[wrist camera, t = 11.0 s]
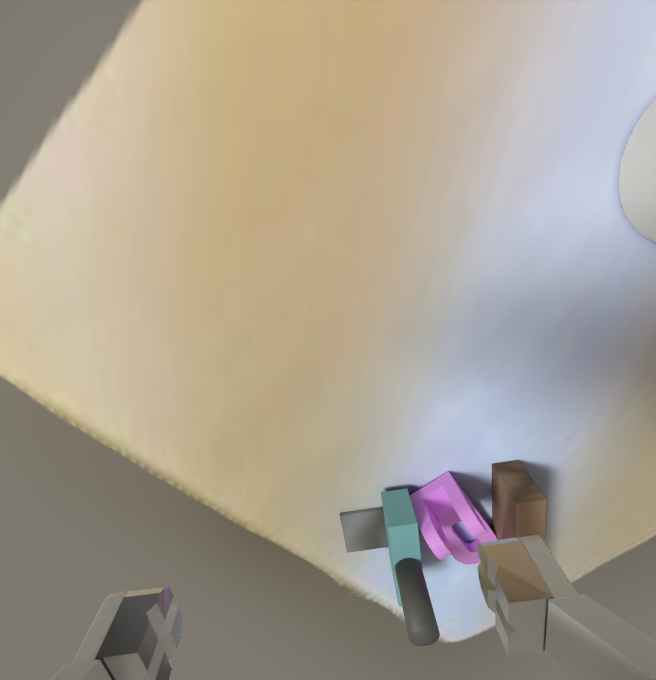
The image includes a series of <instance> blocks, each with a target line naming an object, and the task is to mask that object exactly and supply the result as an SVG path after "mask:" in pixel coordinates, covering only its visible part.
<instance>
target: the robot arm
mask: <svg viewBox="0 0 656 680" xmlns="http://www.w3.org/2000/svg"><path fill="white" fill-rule="evenodd" d="M619 195H620V200H621V205H622V208H623V211H624V213H625V215H626V217H627V219H628V221H629V222H630V224H631V225H632V226H633V227H634V229H635V230H636V231H637V232H638V233H640V234H641V235H642V236H644V237H645V238H647V239H649V240H650V241H652V242H654V243H656V98H655V99H654V100H653V102H652V103H651V104H650V105H649V106H648V108H647V109H646V110H645V112H644V113H643V114H642V116H641V117H640V119H639V121H638V122H637V124H636V125H635V127H634V129H633V131H632V133H631V135H630V137H629V139H628V142H627V145H626V147H625V150H624V153H623V157H622V161H621V166H620V172H619ZM478 555H479V558H480V560H481V563H480V564H479V566H478V574H479V580H480V585H481V589H482V592H483V595H484V598H485V601H486V603H487V606H488V608H489V609H491V610H492V611H493V612H494V613H495V616H496V628H497V631H498V633H499V635H500V638H501V640H502V643H503V645H504V648H505V650H506V652H507V655H518V654H529V653H539V652H545V655H546V656H547V657H548V658H549V659H550V660H551V661H552V662H553V663H554V664H555V665H556V666H558V668H559V669H560V670H561V671H562V672H564V674H565V675H567V676H568V677H569V678H570V679H571V680H656V643H655V642H654V641H652V640H651V639H649V638H648V637H646V636H645V635H643V634H642V633H640V632H639V631H637V630H636V629H634V628H633V627H632V626H630V625H629V624H627V623H626V622H624V621H623V620H621V619H620V618H618V617H617V616H615V615H614V614H612V613H611V612H609V611H608V610H606V609H605V608H604V607H602V606H601V605H599V604H598V603H596V602H595V601H593V600H592V599H590V598H589V597H587V596H586V595H578V594H577V592H576V591H575V589H574V588H573V586H572V584H571V583H570V581H569V580H568V578H567V577H566V575H565V573H564V572H563V570H562V569H561V567H560V566H559V564H558V563H557V561H556V559H555V558H554V556H553V555H552V553H551V552H550V550H549V548H548V547H547V545H546V544H545V542H544V541H543V539H542V538H541V537H540V536H539V535H533V536H526V537H519V538H516V537H515V538H509V539H502V540H496V541H489V542H483V543H479V544H478ZM172 598H173V594H172V592H171V590H170V588H169V587H165V588H156V589H147V590H137V591H129V592H121V593H113V594H110V595H109V596H108V597H107V598H106V599H105V600H104V602H103V604H102V606H101V608H100V610H99V612H98V614H97V616H96V618H95V619H94V621H93V623H92V625H91V628H90V629H89V631H88V633H87V635H86V637H85V639H84V641H83V643H82V645H81V647H80V649H79V651H78V653H77V655H76V657H75V659H74V661H73V663H69V664H66V665H65V666H64V667H63V668H62V669H61V670H60V671H59V672H58V673H57V674H56V675H55V676H54V677H53V678H51V680H169V677H170V674H171V670H172V667H171V664H170V662H169V658H170V657H171V656H172V655H173V654H174V653H175V652H176V650H177V649H178V646H179V643H180V639H181V634H182V616H181V612H180V610H179V608H178V607H177V606H176V605H174V604H173V603H171V601H172Z"/></svg>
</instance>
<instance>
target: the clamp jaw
mask: <svg viewBox="0 0 656 680" xmlns="http://www.w3.org/2000/svg"><path fill="white" fill-rule="evenodd" d="M381 496H382V503H383V510H384V517H385V525H386V532H387V539H388V546H389V553H390V560H391V567H392V572H393V578H394V583H395V588H396V593H397V598H398V603H399V607H400V606H402V607H403V611H404V616H405V621H406V626H407V631H408V636H409V640H410V642H411V643H413V644H414V645H417V646H427V645H431V644H433V643H434V642H436V641H437V640H438V638H439V630H438V626H437V623H436V619H435V615H434V612H433V608H432V604H431V601H430V597H429V593H428V589H427V586H426V582H425V578H424V575H423V571H422V562H421V552H420V542H419V532H418V523H417V520H416V516H415V513H414V509H413V506H412V503H411V499H410V496H409V493H408V489H407V488H406V489H399V490H393V491H386V492H381Z"/></svg>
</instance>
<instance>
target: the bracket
mask: <svg viewBox="0 0 656 680" xmlns="http://www.w3.org/2000/svg"><path fill="white" fill-rule="evenodd" d="M410 499H411V503H412V506H413V509H414V513H415V516H416V519H417V522H418V525H419V527H420V530H421V532H422V534H423V536H424V538H425V540H426V542H427V544H428V546H429V547H430V549H431V550H432V552H433V553H434V555H435V556H436V557H437V558H438V559H439V560H441V559H443V558H444V557H446V556H448V555H449V554H452V555H453V557H454V558H455V559H456V560H457V561H459V562H461V563H464V564H476V563H479V562H481V560H480V558H479V555H478V544H479V543H483V542H489V541H496V540H497V538H496V536H495V534H494V532H493V531H492V529H491V527H490V526H489V524H488V523H487V522H486V520H485V519H484V518H483V516H482V515H481V514H480V512H479V511H478V510H477V508H476V507H475V506H474V504H473V503H472V502H471V500H470V499H469V498H468V496H467V495H466V494H465V492H464V491H463V490H462V488H461V487H460V486H459V484H458V483H457V482H456V480H455V479H454V478H453V476H452V475H451V474H450V472H449V471H448V472H446V473H445V474H443V475H441V476H440V477H438V478H437V479H435V480H434V481H432V482H430V483H429V484H427V485H426V486H424V487H422V488H421V489H419V490H418V491H416V492H414V493H413V494H411V495H410ZM459 521H462V522H463V524H464V525H465V527H466V528H467V530H468V531H469V532H470V534H471V535H472V536H473V538H474V539H476V540H475V541H473V542H471V543H465V542H464V541H463V540H462V539H461V538H460V536H459V535H458V534H457V533H456V531H455V530H454V529H453V528H452V526H453V525H454V524H455V523H456V522H459Z"/></svg>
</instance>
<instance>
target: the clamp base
mask: <svg viewBox="0 0 656 680" xmlns="http://www.w3.org/2000/svg"><path fill="white" fill-rule="evenodd" d="M546 504H547V499H546V497H545V496H544V495H543V493H542V492H541V491H540V489H539V488H538V486H537V485H536V484H535V482H534V481H533V479H532V478H531V477H530V475H529V474H528V473H527V471H526V470H525V468H524V467H523V466H522V464H521V463H520V461H519V460H515V461H508V462H501V463H495V464H492V531H493V532H494V534H495V536H496V538H497V540H502V539H509V538H515V537H516V538H519V537H526V536H533V535H539V536H540V537H541V538H542V539H543V541H544V539H545V521H546ZM340 518H341V523H342V528H343V533H344V538H345V544H346V549H347V552H355V551H362V550H369V549H376V548H383V547H389V546H388V539H387V532H386V525H385V517H384V510H383V507H379V508H372V509H365V510H358V511H351V512H344V513H340ZM416 520H417V519H416ZM417 523H418V522H417ZM418 532H419V527H418ZM419 542H420V537H419Z"/></svg>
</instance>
